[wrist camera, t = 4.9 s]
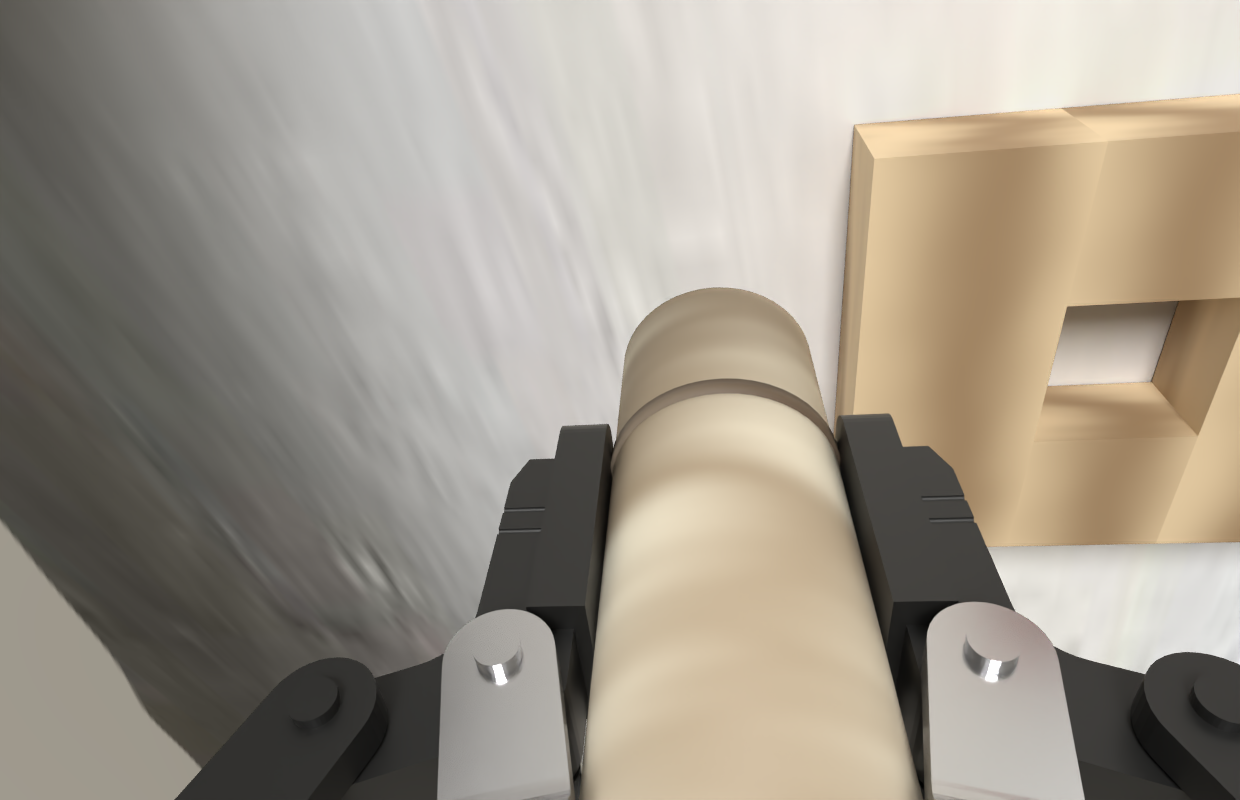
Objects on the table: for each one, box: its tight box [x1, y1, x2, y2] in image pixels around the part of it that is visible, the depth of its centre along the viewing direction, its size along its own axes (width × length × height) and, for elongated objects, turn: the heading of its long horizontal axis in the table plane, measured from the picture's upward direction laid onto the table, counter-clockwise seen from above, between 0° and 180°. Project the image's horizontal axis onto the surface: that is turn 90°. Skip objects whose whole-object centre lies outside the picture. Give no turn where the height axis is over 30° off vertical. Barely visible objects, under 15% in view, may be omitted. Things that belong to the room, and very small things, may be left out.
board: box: [834, 94, 1240, 547], centre depth 24 cm, size 16×14×3 cm
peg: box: [579, 288, 923, 800], centre depth 10 cm, size 4×4×10 cm
